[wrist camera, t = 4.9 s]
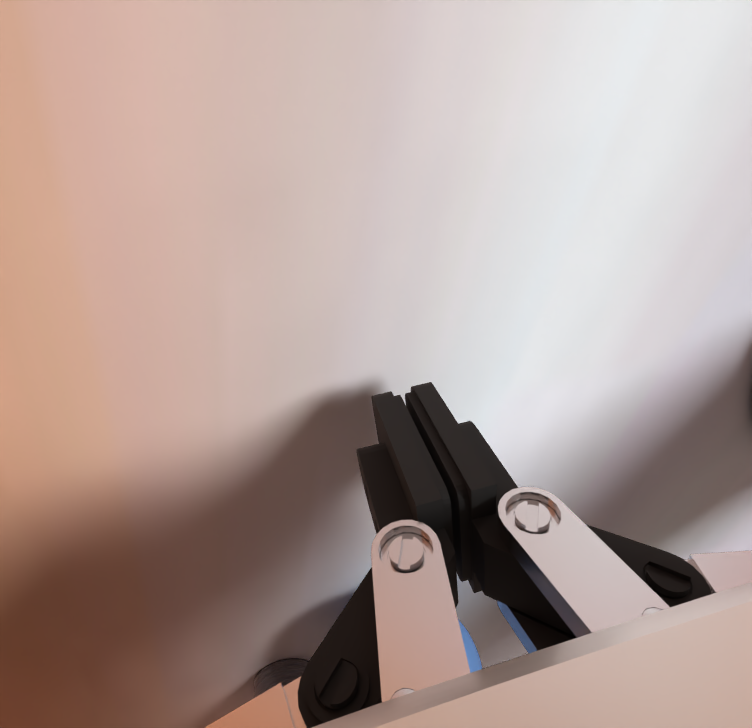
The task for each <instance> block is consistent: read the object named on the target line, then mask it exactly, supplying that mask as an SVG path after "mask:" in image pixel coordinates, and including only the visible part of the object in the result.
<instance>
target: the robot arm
mask: <svg viewBox="0 0 752 728" xmlns="http://www.w3.org/2000/svg"><path fill="white" fill-rule="evenodd" d="M405 401H406V405H405V403H404V401H403V399H402V397H401V396H400V395H397V396H393V394H392V392H387V393H383V394H379V395H374V396H372V404H373V410H374V416H375V422H376V428H377V434H378V441H379V444H376V445H372V446H368V447H364V448H360V449H357V456H358V462H359V467H360V471H361V476H362V481H363V485H364V489H365V493H366V497H367V501H368V504H369V508H370V512H371V515H372V519H373V523H374V526H375V530H376V533H377V535H376V536H375V539H374V541H373V543H372V548H371V560H372V567H371V569H370V570H369V572H368V573H367V575H366V576H365V578H364V579H363V581H362V582H361V584H360V586H359V587H358V589H357V590H356V592H355V593H354V595H353V596H352V598H351V599H350V601H349V602H348V604H347V605H346V607H345V608H344V610H343V611H342V613H341V614H340V616H339V617H338V619H337V620H336V622H335V623H334V625H333V626H332V628H331V629H330V631H329V632H328V634H327V635H326V637H325V638H324V640H323V641H322V643H321V644H320V646H319V647H318V649H317V650H316V652H315V653H314V655H313V656H312V658H311V660H310V661H309V663H308V664H307V666H306V668H305V670H304V672H303V674H302V676H301V677H299V678H297V679H295V680H294V681H292V682H290V683H289V684H287V685H285V686H284V687H283V686H282V684H281V683H279V684H277V685H276V686H274V687H272V688H271V689H269V690H267V691H266V692H264V693H262V694H260V695H259V696H257V697H255V698H254V699H252V700H250V701H249V702H247V703H245V704H244V705H242V706H240V707H238V708H237V709H235V710H233V711H232V712H230V713H228V714H227V715H225V716H223V717H222V718H220V719H218V720H216V721H215V722H213V723H211V724H210V725H208V726H206V727H205V728H752V551H736V552H719V553H703V554H690V556H689V559H686V560H684V559H682V558H680V557H678V556H675V555H673V554H671V553H669V552H666V551H663V550H660V549H657V548H654V547H651V546H648V545H645V544H642V543H639V542H636V541H633V540H630V539H627V538H624V537H621V536H618V535H615V534H613V533H610V532H607V531H604V530H601V529H598V528H595V527H592V526H589V525H586V524H585V523H584V522H583V521H582V520H580V519H579V518H578V517H577V516H576V515H575V514H574V513H573V512H572V511H571V510H570V509H569V508H568V507H567V506H566V505H565V504H564V503H563V502H562V501H561V500H560V499H559V498H557V497H556V496H555V495H553V494H552V493H550V492H548V491H545V490H543V489H540V488H535V487H519V488H518V487H517V485H516V484H515V482H514V481H513V480H512V478H511V477H510V475H509V474H508V472H507V471H506V469H505V468H504V467H503V465H502V464H501V462H500V461H499V459H498V458H497V456H496V455H495V454H494V452H493V451H492V449H491V448H490V446H489V445H488V443H487V442H486V441H485V439H484V438H483V436H482V435H481V433H480V432H479V430H478V429H477V428H476V426H475V425H474V424H473V423H472V422H471V421H468V422H464V423H460V424H458V423H457V421H456V420H455V418H454V417H453V415H452V413H451V412H450V410H449V409H448V407H447V406H446V404H445V403H444V401H443V399H442V398H441V396H440V395H439V393H438V392H437V390H436V389H435V387H434V385H433V384H432V383H431V382H429V383H425V384H421V385H417V386H412V387H411V392H410V393H406V394H405ZM456 572H457V574H458V576H459V578H460V580H461V581H466V580H468V581H469V583H470V585H471V587H472V590H473V592H474V593H476V592H480V591H483V592H484V594H485V595H486V596H488V597H491V598H493V599H495V600H497V604H498V606H499V608H500V610H501V612H502V614H503V615H504V617H505V618H506V620H507V621H508V623H509V624H510V626H511V627H512V629H513V630H514V632H515V633H516V635H517V636H518V638H519V640H520V641H521V643H522V644H523V646H524V647H525V649H526V650H527V652H528V653H529V654H526V655H523V656H520V657H517V658H514V659H511V660H508V661H505V662H502V663H499V664H496V665H493V666H490V667H487V668H484V669H481V670H478V671H475V672H472V673H470V669H469V664H468V660H467V656H466V652H465V647H464V643H463V639H462V634H461V630H460V626H459V622H458V617H457V613H456V606H457V604H458V591H457V574H456Z"/></svg>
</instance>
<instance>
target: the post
mask: <svg viewBox="0 0 752 728" xmlns="http://www.w3.org/2000/svg"><path fill="white" fill-rule="evenodd" d="M308 663H309V662H308V661H305V660H300V659H288V660H282V661H278V662H275V663H273V664H271V665H269V666H267V667H265V668H264V669H262V670H261V671H260V672H259V673H258V674H257V676H256V677H255V680H254V698H255V697H257V696H259V695H260V694H262V693H264V692H266V691H267V690H269V689H271V688H272V687H274V686H276V685H277V684H279V683H281V684H282V686H283V687H284V686H285V685H287V684H289V683H290V682H292V681H294V680H295V679H297V678H299V677H301V676H302V674H303V672H304V670H305V668H306V666H307V664H308Z"/></svg>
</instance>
